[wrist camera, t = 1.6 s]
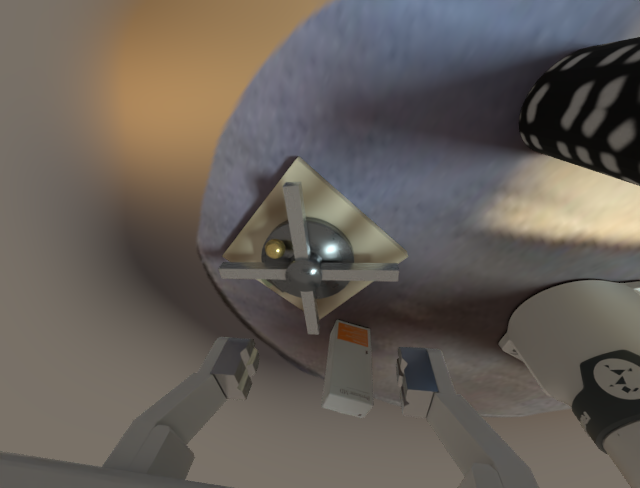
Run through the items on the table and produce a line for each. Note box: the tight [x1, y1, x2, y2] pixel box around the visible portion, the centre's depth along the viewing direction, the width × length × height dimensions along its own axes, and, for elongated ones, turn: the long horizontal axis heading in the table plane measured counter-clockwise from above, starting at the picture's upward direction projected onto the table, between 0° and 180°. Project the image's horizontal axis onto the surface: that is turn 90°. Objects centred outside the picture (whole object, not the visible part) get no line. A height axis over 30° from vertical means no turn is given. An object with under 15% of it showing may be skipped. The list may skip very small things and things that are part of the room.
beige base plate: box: [222, 156, 408, 320], centre depth 33 cm, size 18×18×1 cm
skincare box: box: [321, 320, 374, 418], centre depth 36 cm, size 6×4×12 cm
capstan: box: [218, 181, 399, 335], centre depth 30 cm, size 17×17×4 cm
